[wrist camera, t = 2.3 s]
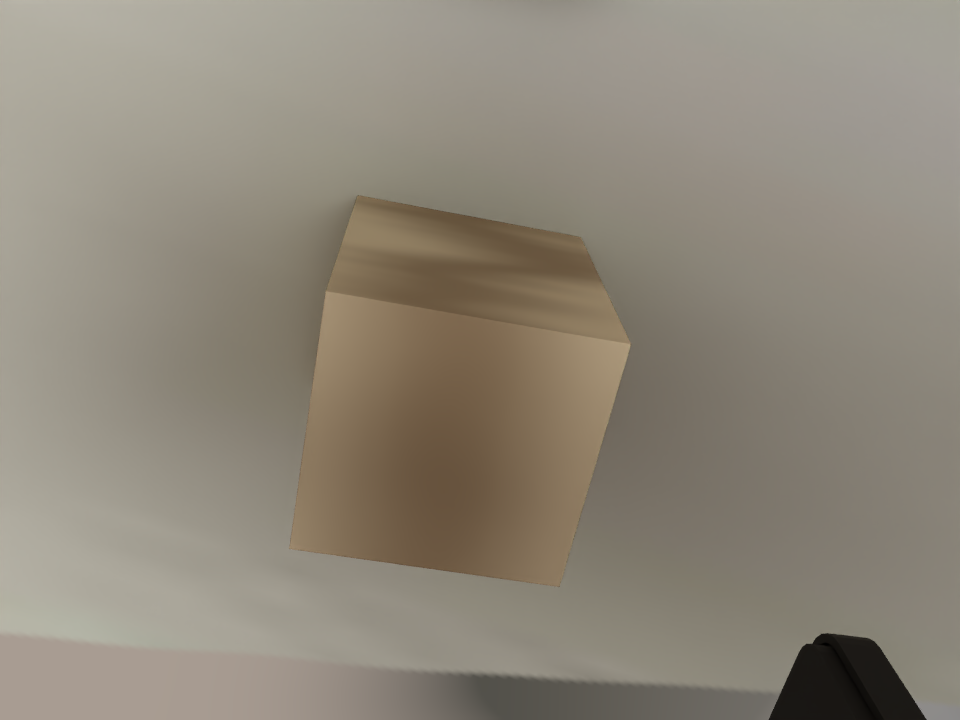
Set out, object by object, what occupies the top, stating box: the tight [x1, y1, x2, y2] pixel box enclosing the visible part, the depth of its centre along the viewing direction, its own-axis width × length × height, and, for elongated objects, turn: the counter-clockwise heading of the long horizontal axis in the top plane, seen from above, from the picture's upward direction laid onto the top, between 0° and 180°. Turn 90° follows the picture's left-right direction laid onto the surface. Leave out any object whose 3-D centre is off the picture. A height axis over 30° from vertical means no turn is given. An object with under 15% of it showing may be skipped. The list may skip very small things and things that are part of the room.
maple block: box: [289, 195, 631, 587], centre depth 18 cm, size 5×5×6 cm
